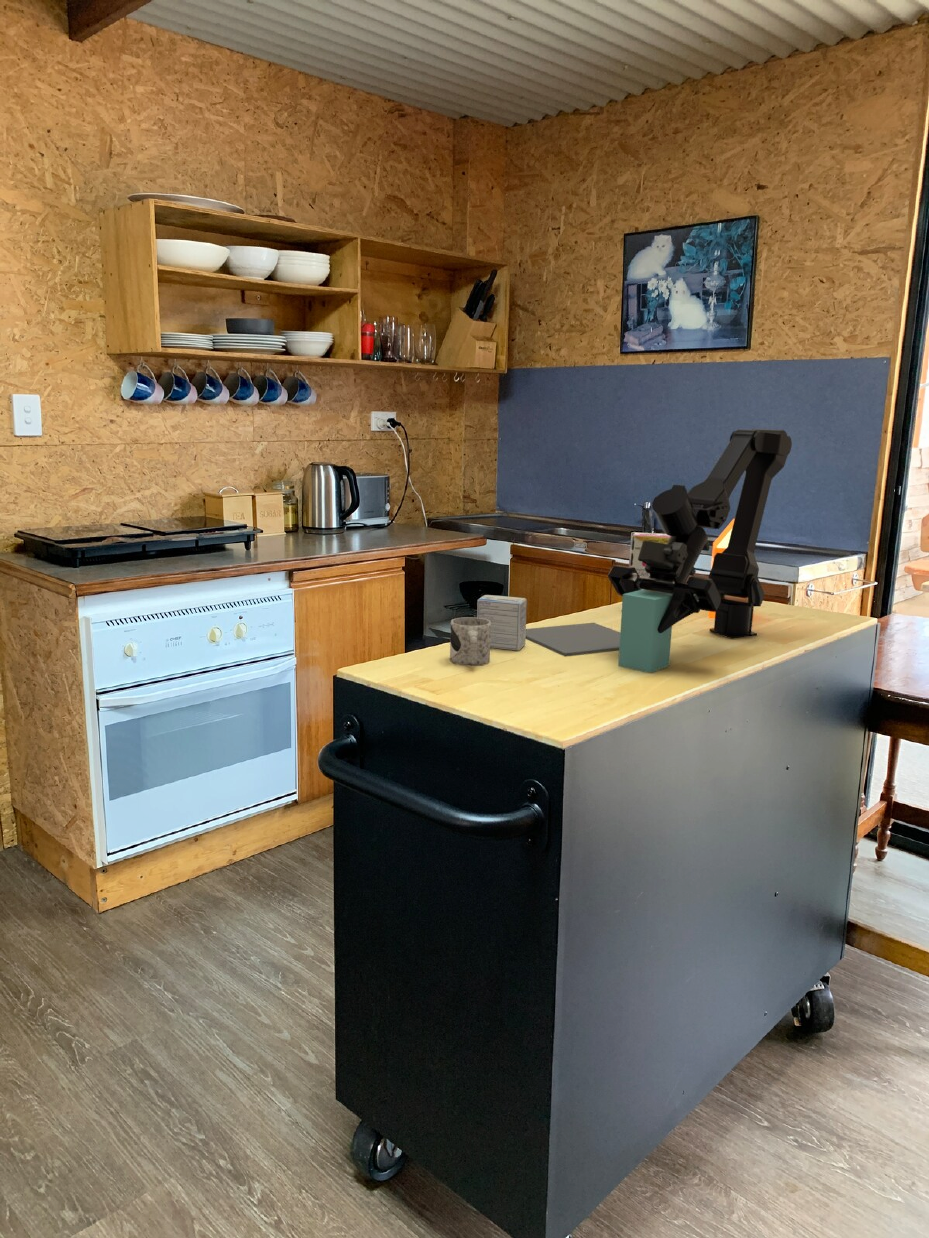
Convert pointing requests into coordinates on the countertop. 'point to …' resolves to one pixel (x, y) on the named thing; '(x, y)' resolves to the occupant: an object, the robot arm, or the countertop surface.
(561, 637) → the charcoal mat
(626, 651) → the teal block
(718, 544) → the orange juice
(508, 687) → the countertop surface
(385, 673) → the countertop surface
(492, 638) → the medicine box
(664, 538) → the candy bar box
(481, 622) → the mug
